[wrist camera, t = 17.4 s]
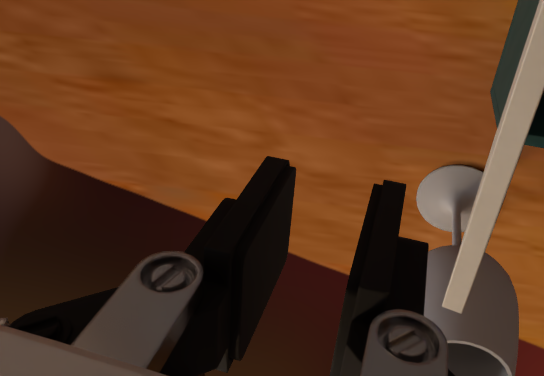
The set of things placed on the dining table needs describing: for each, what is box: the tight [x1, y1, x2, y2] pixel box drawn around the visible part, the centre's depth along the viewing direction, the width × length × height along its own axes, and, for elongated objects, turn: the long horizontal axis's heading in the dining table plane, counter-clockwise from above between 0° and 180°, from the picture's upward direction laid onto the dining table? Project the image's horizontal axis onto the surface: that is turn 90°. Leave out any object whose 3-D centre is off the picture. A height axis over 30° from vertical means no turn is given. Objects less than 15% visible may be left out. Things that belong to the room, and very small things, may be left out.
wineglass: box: [416, 165, 519, 376], centre depth 39 cm, size 8×8×21 cm
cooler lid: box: [442, 0, 544, 314], centre depth 23 cm, size 18×14×1 cm
